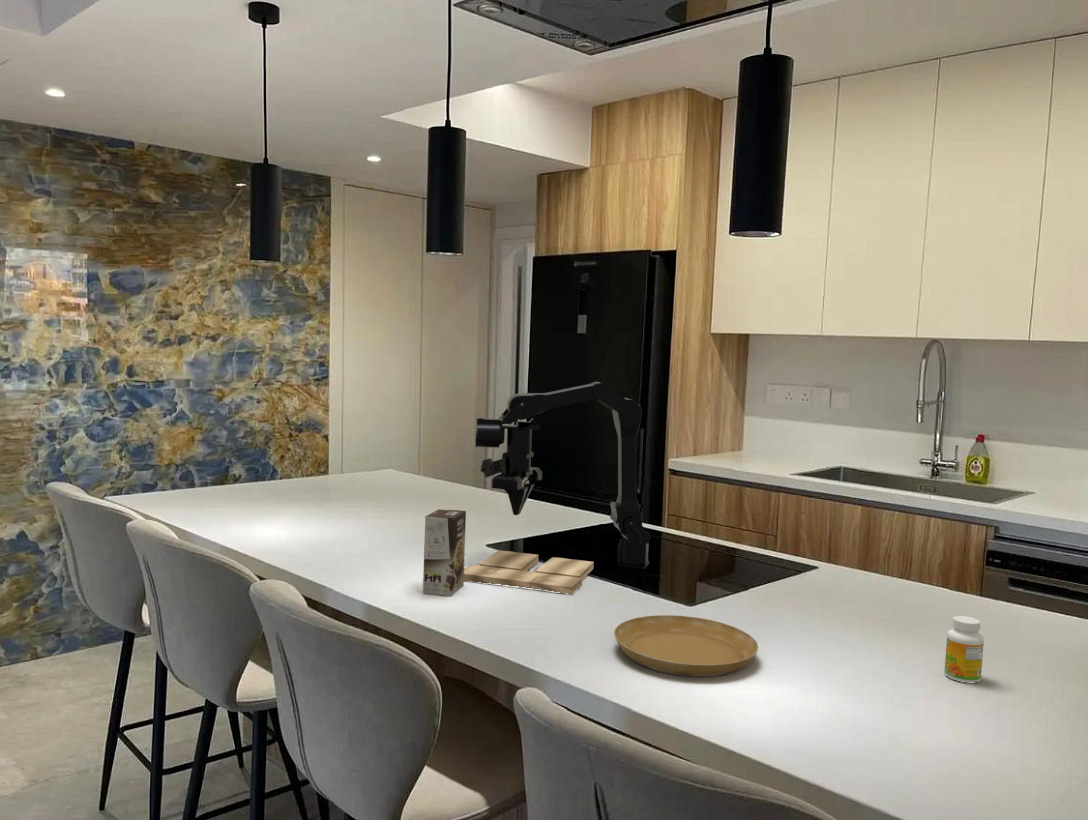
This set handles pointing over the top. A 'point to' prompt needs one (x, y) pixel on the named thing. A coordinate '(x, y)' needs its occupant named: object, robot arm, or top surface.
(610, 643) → the top surface
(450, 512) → the coffee box
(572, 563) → the near plank
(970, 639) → the supplement bottle
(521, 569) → the far plank
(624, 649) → the plant saucer
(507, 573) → the laid section
